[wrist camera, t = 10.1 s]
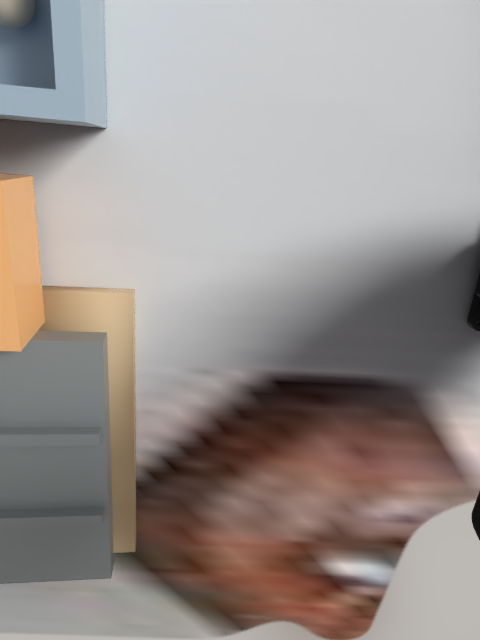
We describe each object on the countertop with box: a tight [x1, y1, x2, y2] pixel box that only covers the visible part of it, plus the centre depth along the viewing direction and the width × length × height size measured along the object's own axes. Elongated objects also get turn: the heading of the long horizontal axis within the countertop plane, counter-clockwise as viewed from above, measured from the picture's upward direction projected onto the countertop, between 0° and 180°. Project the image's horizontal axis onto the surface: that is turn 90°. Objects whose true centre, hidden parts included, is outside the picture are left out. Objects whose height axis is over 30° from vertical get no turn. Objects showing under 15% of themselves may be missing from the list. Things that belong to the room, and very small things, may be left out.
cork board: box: [38, 286, 136, 553], centre depth 21 cm, size 11×15×1 cm
